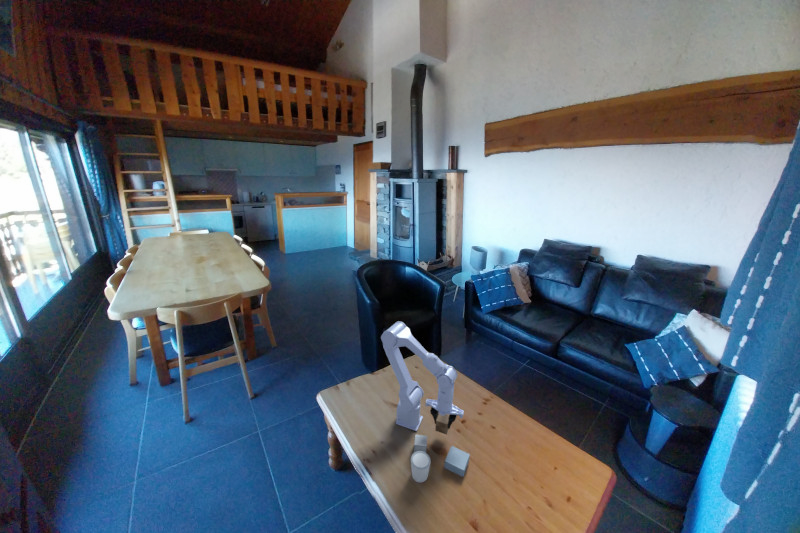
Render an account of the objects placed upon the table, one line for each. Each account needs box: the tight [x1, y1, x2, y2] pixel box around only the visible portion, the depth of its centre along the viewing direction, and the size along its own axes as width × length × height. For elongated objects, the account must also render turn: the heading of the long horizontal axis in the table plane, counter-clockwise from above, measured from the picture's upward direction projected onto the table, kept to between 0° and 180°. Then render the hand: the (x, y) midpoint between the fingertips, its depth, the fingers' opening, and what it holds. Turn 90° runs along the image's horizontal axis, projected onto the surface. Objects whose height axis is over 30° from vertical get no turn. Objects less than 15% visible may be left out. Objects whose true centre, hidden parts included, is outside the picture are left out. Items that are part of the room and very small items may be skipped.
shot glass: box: [410, 451, 432, 483], centre depth 104 cm, size 7×7×7 cm
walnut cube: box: [434, 413, 450, 435], centre depth 117 cm, size 4×4×5 cm
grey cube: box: [413, 434, 428, 454], centre depth 113 cm, size 4×4×5 cm
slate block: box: [443, 445, 471, 478], centre depth 108 cm, size 7×7×4 cm
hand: (442, 424), depth 118 cm, fingers closed on walnut cube, 4 cm apart
